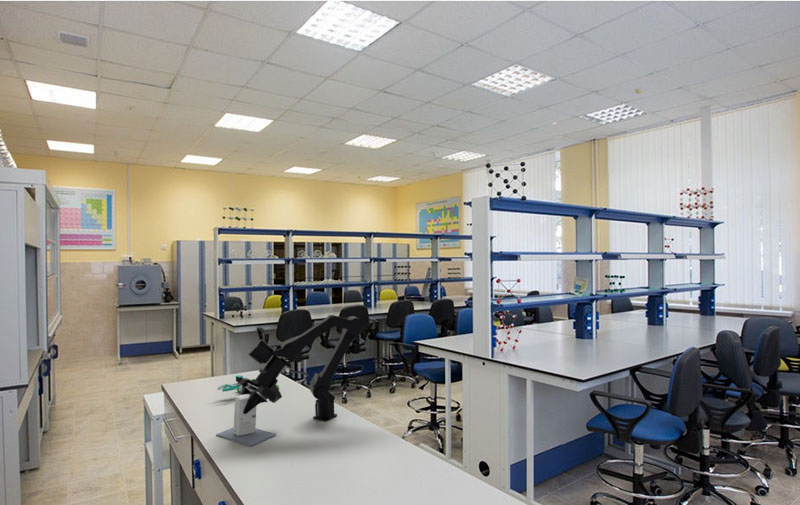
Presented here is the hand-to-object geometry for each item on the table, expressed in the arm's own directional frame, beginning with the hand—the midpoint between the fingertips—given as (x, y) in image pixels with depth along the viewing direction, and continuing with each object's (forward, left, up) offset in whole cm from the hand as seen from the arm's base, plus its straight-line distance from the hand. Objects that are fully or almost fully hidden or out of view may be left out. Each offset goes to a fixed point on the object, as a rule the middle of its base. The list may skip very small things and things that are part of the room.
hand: (241, 412), depth 148 cm
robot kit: (+36, -31, -8) cm, 48 cm away
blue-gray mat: (-1, -1, -8) cm, 8 cm away
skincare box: (0, -1, -7) cm, 7 cm away
